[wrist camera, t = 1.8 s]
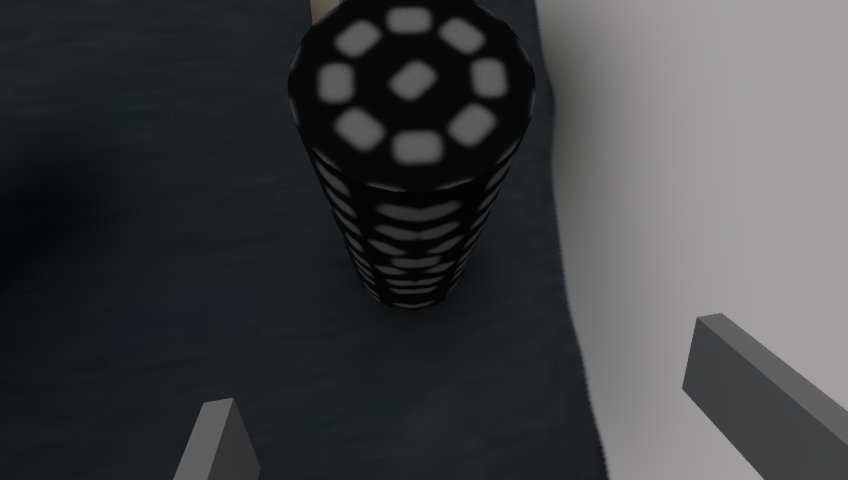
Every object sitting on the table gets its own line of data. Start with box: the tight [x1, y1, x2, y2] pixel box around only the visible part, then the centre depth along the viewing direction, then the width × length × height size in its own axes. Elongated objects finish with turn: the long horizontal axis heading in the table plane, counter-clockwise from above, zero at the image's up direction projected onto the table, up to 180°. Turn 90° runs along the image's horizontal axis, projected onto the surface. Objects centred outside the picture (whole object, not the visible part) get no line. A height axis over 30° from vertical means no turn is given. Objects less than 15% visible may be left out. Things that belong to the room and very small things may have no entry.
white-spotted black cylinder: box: [288, 0, 536, 310], centre depth 25 cm, size 8×8×20 cm
